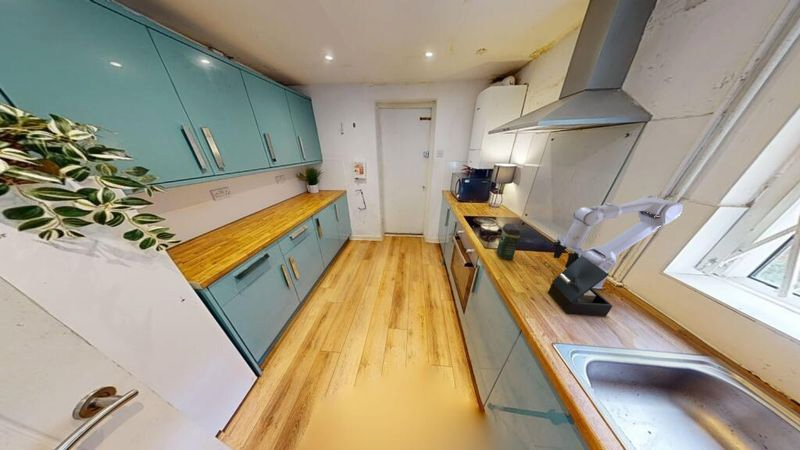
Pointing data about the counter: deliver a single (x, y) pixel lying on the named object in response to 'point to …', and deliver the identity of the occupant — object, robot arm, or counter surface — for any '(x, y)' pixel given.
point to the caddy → (580, 304)
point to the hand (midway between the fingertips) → (561, 262)
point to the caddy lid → (579, 278)
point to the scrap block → (587, 297)
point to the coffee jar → (508, 241)
